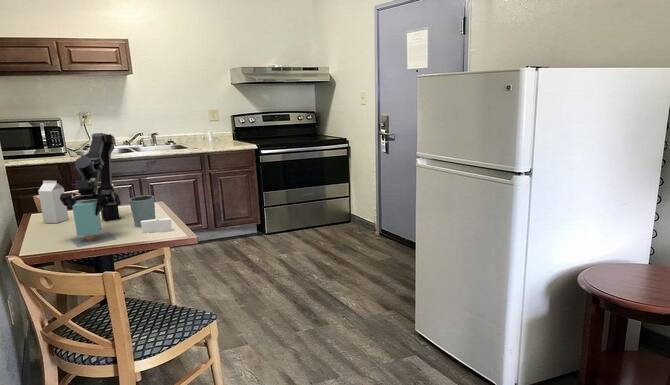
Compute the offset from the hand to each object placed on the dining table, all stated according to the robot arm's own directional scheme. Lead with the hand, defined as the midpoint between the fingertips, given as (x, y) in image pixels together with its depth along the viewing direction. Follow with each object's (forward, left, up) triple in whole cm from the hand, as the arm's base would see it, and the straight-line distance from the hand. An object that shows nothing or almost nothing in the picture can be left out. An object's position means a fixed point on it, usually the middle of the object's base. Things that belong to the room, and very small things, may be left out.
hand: (86, 216), depth 179 cm
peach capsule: (-1, -1, -10) cm, 10 cm away
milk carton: (+4, -46, -10) cm, 48 cm away
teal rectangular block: (-1, -1, -7) cm, 7 cm away
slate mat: (-2, 0, -10) cm, 10 cm away
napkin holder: (-24, +7, -11) cm, 27 cm away
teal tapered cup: (-24, -8, -10) cm, 27 cm away
